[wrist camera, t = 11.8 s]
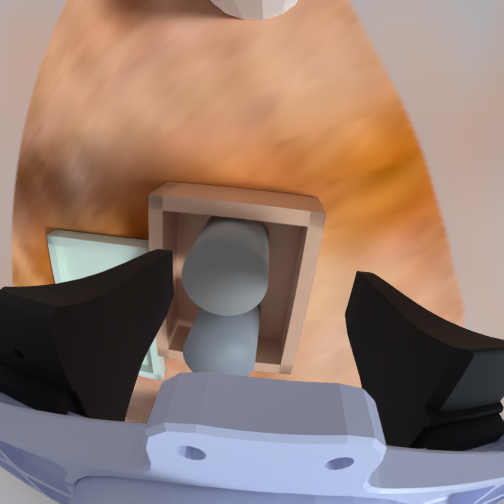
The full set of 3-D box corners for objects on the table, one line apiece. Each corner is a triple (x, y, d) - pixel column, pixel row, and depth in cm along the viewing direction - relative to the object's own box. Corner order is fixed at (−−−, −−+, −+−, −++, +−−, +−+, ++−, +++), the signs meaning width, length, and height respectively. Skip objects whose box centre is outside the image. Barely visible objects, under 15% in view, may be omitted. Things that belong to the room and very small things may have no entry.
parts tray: (166, 371, 25) (162, 380, 24) (81, 350, 25) (76, 358, 24) (157, 241, 20) (150, 248, 19) (55, 229, 20) (46, 235, 19)
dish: (289, 343, 22) (290, 374, 20) (170, 328, 23) (157, 355, 20) (317, 197, 18) (326, 213, 15) (167, 181, 18) (148, 194, 15)
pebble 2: (250, 339, 22) (242, 390, 17) (196, 321, 22) (177, 370, 17) (269, 294, 20) (265, 344, 16) (210, 275, 20) (190, 320, 15)
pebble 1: (262, 274, 20) (258, 322, 15) (199, 262, 20) (179, 306, 15) (275, 214, 18) (276, 248, 13) (207, 201, 18) (185, 231, 13)
